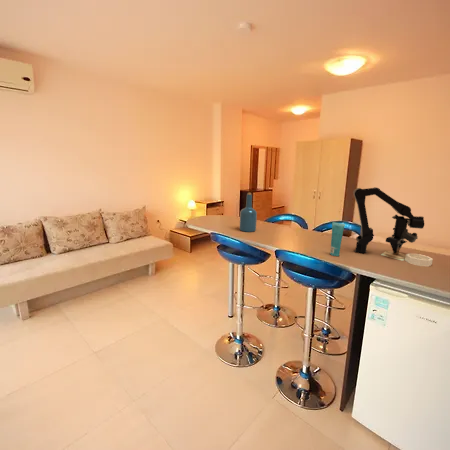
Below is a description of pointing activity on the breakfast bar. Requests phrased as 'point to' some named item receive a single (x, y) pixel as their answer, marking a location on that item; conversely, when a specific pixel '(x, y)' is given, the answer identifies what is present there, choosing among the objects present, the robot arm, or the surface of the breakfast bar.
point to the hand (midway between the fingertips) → (396, 252)
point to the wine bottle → (248, 216)
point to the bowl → (418, 259)
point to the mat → (390, 257)
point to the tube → (336, 238)
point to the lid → (395, 254)
